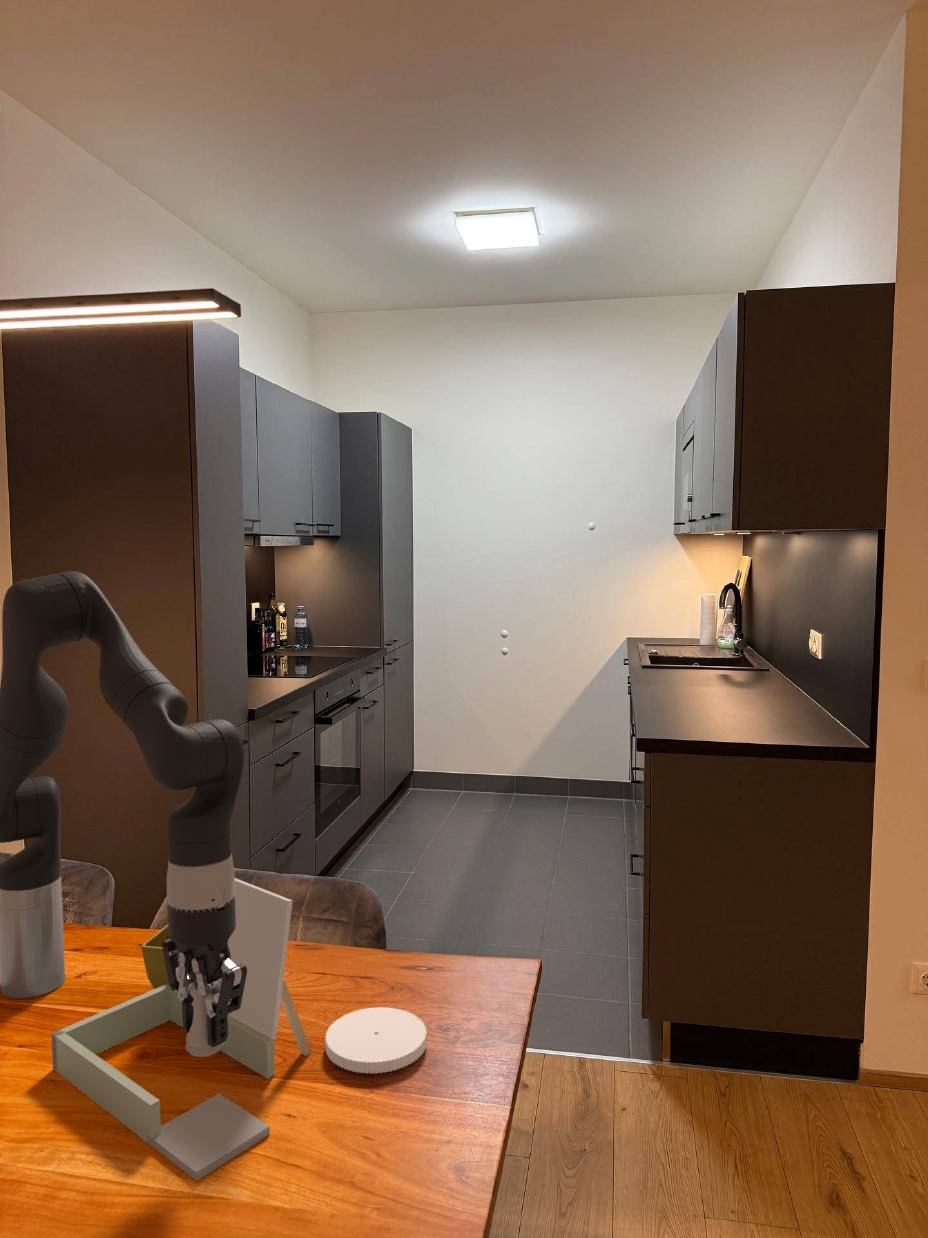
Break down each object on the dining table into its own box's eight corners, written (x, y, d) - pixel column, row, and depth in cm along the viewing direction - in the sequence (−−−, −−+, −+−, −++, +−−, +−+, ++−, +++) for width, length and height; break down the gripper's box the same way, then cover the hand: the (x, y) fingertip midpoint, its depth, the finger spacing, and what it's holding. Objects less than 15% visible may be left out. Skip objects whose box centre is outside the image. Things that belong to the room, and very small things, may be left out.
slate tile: (147, 1142, 104) (146, 1134, 104) (219, 1101, 112) (219, 1093, 112) (196, 1181, 98) (196, 1172, 98) (269, 1134, 105) (269, 1126, 105)
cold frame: (53, 1070, 119) (49, 981, 118) (209, 998, 137) (207, 921, 136) (151, 1147, 103) (148, 1046, 102) (312, 1054, 122) (310, 968, 121)
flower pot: (194, 1008, 134) (192, 950, 134) (141, 1002, 136) (139, 945, 135) (221, 980, 143) (219, 926, 142) (171, 975, 145) (170, 921, 144)
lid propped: (169, 983, 132) (165, 866, 130) (191, 973, 135) (188, 859, 133) (271, 1040, 117) (269, 909, 115) (295, 1028, 120) (292, 899, 118)
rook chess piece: (232, 1041, 105) (231, 976, 105) (210, 1062, 101) (208, 994, 100) (200, 1034, 107) (199, 970, 106) (177, 1054, 102) (175, 988, 102)
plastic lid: (330, 1088, 115) (329, 1069, 115) (321, 1030, 129) (321, 1014, 128) (435, 1072, 118) (435, 1054, 118) (416, 1018, 132) (416, 1002, 132)
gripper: (138, 888, 104) (142, 1028, 105) (210, 921, 95) (214, 1074, 96) (193, 870, 110) (197, 1003, 111) (266, 900, 101) (269, 1044, 102)
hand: (205, 1035), depth 104 cm, fingers closed on rook chess piece, 4 cm apart
